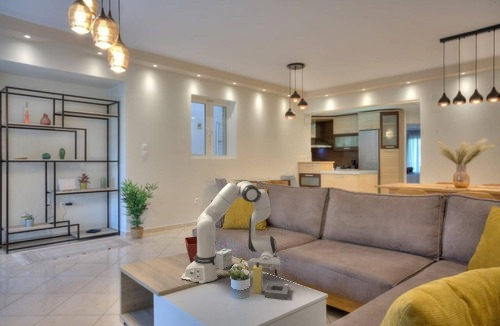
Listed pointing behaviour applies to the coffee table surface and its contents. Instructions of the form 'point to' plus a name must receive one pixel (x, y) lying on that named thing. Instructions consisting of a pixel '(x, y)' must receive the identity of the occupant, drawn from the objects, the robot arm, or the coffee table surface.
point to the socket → (277, 291)
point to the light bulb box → (224, 258)
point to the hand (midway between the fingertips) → (262, 268)
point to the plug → (257, 278)
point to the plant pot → (192, 247)
